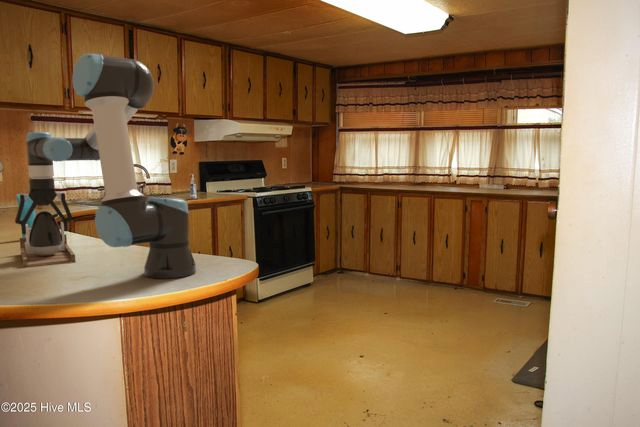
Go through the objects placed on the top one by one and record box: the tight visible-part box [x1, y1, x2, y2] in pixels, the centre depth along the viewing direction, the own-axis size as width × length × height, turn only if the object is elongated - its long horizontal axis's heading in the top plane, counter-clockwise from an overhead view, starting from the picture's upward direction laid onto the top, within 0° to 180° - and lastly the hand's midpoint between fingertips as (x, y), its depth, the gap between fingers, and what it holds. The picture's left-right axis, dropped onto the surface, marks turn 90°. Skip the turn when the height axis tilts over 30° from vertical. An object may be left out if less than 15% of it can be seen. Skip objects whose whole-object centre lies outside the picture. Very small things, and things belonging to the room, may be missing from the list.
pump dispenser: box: [29, 210, 62, 256], centre depth 181 cm, size 10×10×15 cm
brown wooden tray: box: [19, 233, 76, 268], centre depth 181 cm, size 24×15×6 cm, turn 32°
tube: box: [15, 193, 36, 238], centre depth 217 cm, size 7×5×19 cm, turn 152°
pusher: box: [25, 241, 65, 254], centre depth 189 cm, size 8×12×4 cm, turn 122°
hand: (45, 242), depth 181 cm, fingers closed on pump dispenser, 10 cm apart
